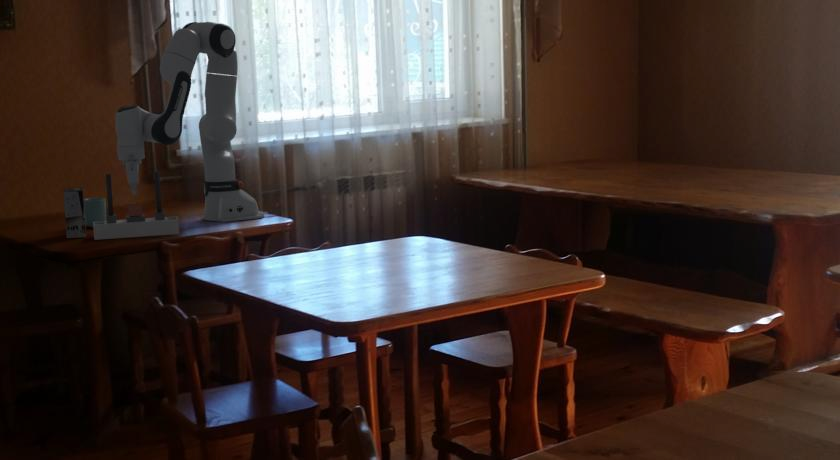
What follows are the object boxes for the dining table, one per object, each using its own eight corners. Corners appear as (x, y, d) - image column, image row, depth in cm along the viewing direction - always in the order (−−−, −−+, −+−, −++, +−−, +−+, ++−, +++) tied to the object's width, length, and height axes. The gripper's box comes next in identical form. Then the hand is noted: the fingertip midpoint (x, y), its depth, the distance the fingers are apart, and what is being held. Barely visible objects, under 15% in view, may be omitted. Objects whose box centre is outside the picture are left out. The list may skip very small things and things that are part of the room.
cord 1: (116, 221, 360) (112, 173, 357) (116, 222, 357) (112, 174, 354) (107, 221, 360) (103, 173, 357) (107, 223, 356) (103, 175, 353)
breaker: (142, 215, 361) (141, 205, 361) (142, 214, 360) (141, 205, 360) (129, 215, 360) (128, 206, 360) (129, 215, 359) (128, 205, 359)
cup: (103, 228, 375) (101, 200, 374) (81, 228, 376) (79, 201, 374) (110, 224, 383) (108, 197, 381) (88, 224, 383) (86, 197, 381)
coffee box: (86, 237, 359) (82, 190, 356) (66, 238, 357) (62, 191, 354) (86, 232, 368) (83, 186, 365) (67, 234, 366) (63, 188, 363)
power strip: (178, 230, 368) (177, 211, 367) (179, 233, 361) (178, 214, 360) (94, 236, 361) (93, 217, 360) (94, 239, 354) (92, 220, 353)
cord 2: (164, 217, 365) (161, 170, 362) (164, 219, 361) (161, 172, 358) (155, 218, 364) (152, 171, 361) (155, 220, 360) (152, 172, 357)
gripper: (141, 156, 347) (144, 198, 350) (140, 150, 366) (143, 189, 369) (121, 157, 345) (124, 199, 348) (121, 151, 365) (124, 190, 367)
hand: (134, 194), depth 359 cm, fingers closed
